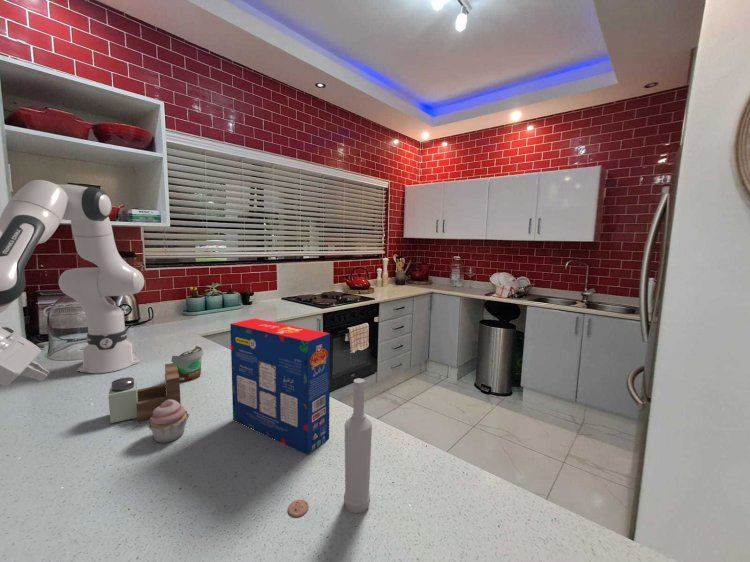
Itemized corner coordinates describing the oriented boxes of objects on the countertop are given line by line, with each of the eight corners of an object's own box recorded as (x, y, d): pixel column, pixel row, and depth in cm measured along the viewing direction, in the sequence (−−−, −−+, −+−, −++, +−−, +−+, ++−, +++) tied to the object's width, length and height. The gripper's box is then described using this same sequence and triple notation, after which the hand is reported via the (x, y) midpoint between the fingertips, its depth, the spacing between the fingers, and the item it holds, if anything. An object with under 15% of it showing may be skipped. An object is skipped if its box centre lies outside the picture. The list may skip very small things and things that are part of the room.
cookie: (309, 501, 65) (309, 496, 65) (307, 517, 61) (307, 513, 61) (289, 501, 65) (289, 497, 65) (286, 518, 61) (286, 513, 61)
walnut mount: (134, 404, 101) (132, 369, 100) (177, 395, 107) (175, 362, 106) (133, 425, 90) (130, 386, 88) (181, 414, 96) (179, 377, 95)
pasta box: (329, 438, 86) (329, 333, 82) (307, 455, 79) (307, 341, 76) (256, 408, 100) (254, 318, 97) (233, 420, 93) (230, 323, 90)
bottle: (343, 494, 67) (345, 375, 64) (369, 492, 67) (371, 374, 64) (343, 515, 62) (345, 386, 59) (371, 513, 62) (374, 386, 59)
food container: (187, 385, 115) (186, 357, 113) (172, 383, 116) (171, 356, 115) (211, 372, 127) (210, 346, 125) (197, 370, 128) (196, 345, 127)
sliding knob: (112, 412, 95) (110, 378, 94) (138, 406, 99) (136, 374, 98) (110, 423, 90) (107, 388, 88) (137, 417, 93) (135, 383, 92)
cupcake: (145, 451, 79) (142, 411, 78) (150, 431, 87) (148, 395, 86) (190, 441, 83) (188, 403, 82) (191, 423, 91) (189, 388, 90)
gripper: (-22, 346, 70) (47, 380, 76) (11, 325, 87) (65, 355, 93) (-52, 370, 68) (21, 404, 74) (-12, 344, 85) (44, 373, 91)
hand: (45, 376), depth 84 cm, fingers closed
